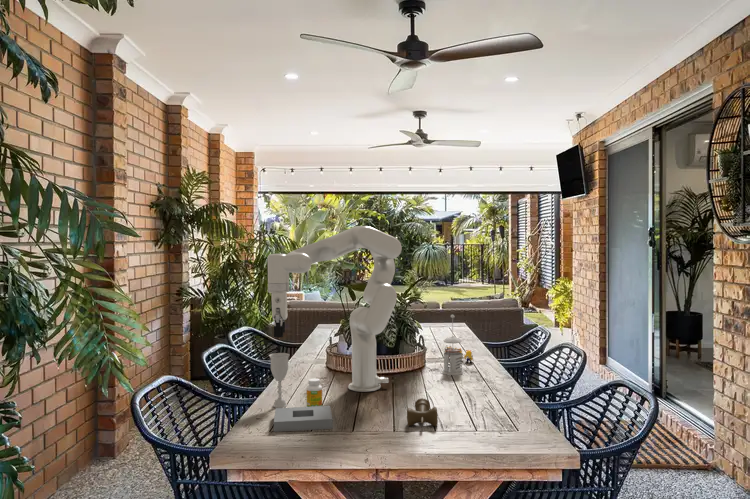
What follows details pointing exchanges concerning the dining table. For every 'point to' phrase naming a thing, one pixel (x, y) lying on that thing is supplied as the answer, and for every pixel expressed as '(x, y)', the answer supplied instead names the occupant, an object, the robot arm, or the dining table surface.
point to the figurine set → (466, 356)
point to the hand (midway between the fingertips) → (279, 334)
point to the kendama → (422, 413)
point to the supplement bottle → (314, 393)
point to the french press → (452, 356)
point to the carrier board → (303, 418)
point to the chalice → (279, 374)
